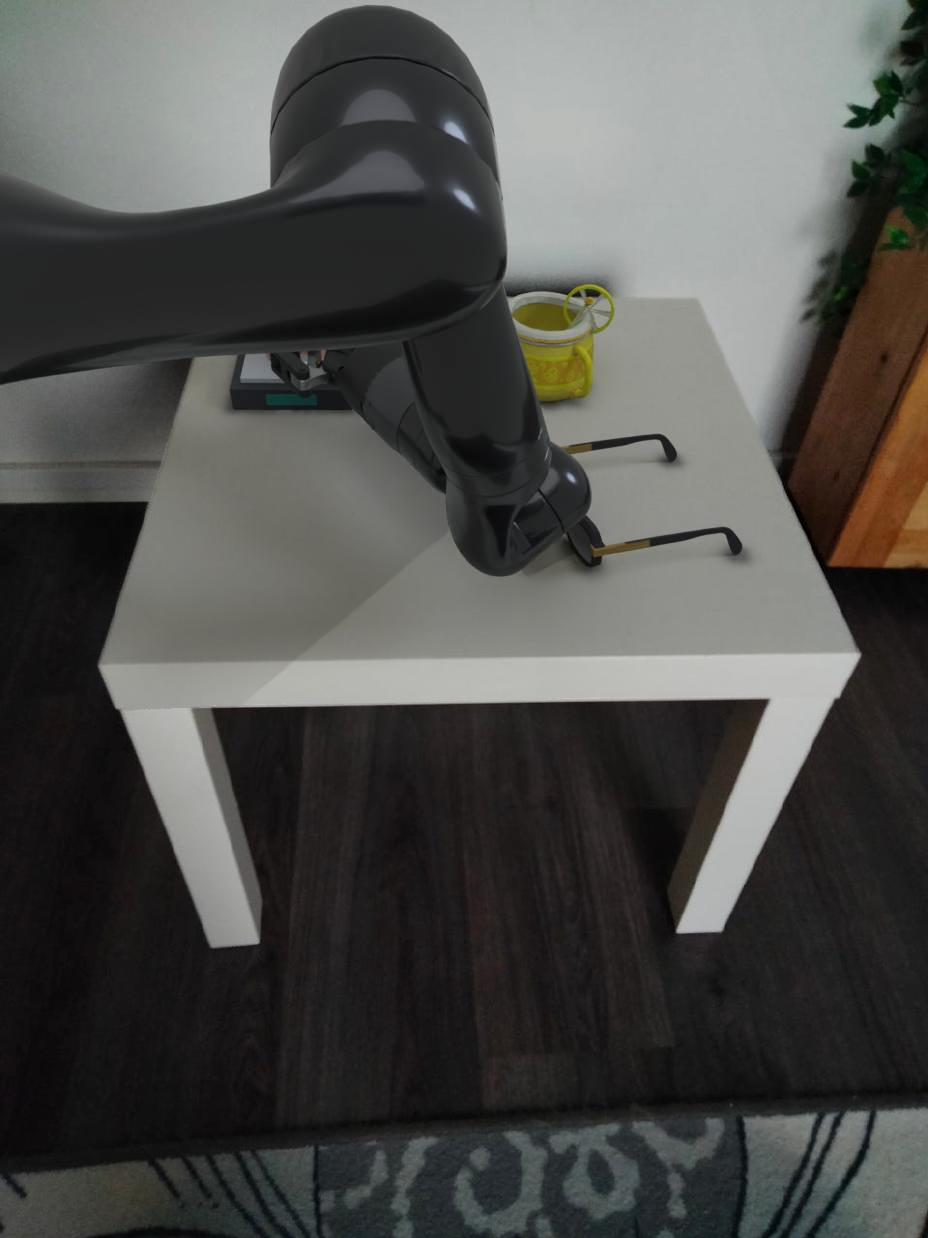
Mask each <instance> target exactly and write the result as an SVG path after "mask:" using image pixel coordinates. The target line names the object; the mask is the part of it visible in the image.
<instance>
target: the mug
mask: <svg viewBox="0 0 928 1238" xmlns="http://www.w3.org/2000/svg"><path fill="white" fill-rule="evenodd" d="M586 290H594V291H597V292H599V293H600V294H599V296H598V297H597V298H596V299H595V300H594V298H593V297H592V296H588V297H587V292H586ZM577 292H579V293H580V295H581V298H582V300H583V302H584V303H583V302H582V301H581V300H579V299H577V298H575V297H572V296H573V295H574V294H576V293H577ZM605 298H606V299H607V300H608V302H609V306H610V310H603V309H594V307H595V306H596V305H598V304H599V303H600V302H601V301H602V300H603V299H605ZM508 303H509V307H510V310H511V314H512V317H513V320H514V324H515V327H516V330H517V333H518V336H519V339H520V343H521V346H522V349H523V352H524V355H525V358H526V361H527V364H528V367H529V371H530V374H531V377H532V380H533V383H534V386H535V389H536V393H537V396H538V399H539V402H552V401H553V402H555V401H562V400H567V399H575V398H578V399H584V398H586V397H587V396H588V395H589V394H590V392H591V389H592V385H593V381H594V365H593V364H594V335H595V334H598V333H601V332H603V331H605V330H606V329H607V328H608V327H609V326H610V325H611V323H612V321H613V318H614V317H615V316H614V315H615V311H616V309H615V303H614V299H613V297H612V296H611V295H610V293H609V291H607V290H606V289H605V288H604V287H601V286H599V285H596V284H589V283H587V284H583V285H579V286H576V287H575V288H573V289H572V290H571V291H570V292H569V293H568V294H563V293H559V292H552V291H543V290H542V291H532V292H531V291H530V292H526V293H521V294H518V295H516V296H514V297H512V298H510V299H508ZM594 314H598V315H601V316H603V317H606V318H609V319H608V320H607V321H606V323H605V324H603V325H602V326H599V327H598V324H597V323H596V321H595V316H594Z"/></svg>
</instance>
